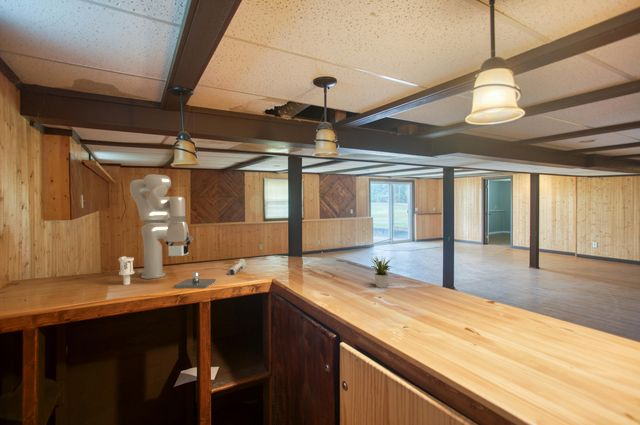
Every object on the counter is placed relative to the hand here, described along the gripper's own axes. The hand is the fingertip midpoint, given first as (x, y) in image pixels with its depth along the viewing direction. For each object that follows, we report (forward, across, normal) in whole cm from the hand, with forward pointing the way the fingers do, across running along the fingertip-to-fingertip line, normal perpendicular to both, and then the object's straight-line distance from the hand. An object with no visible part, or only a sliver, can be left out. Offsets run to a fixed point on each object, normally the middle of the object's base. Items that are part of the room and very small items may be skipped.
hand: (178, 253), depth 167 cm
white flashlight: (+17, +19, +36) cm, 44 cm away
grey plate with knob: (+17, +9, 0) cm, 19 cm away
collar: (+1, 0, 0) cm, 1 cm away
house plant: (+19, +104, 0) cm, 106 cm away
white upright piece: (+16, -29, 0) cm, 33 cm away
